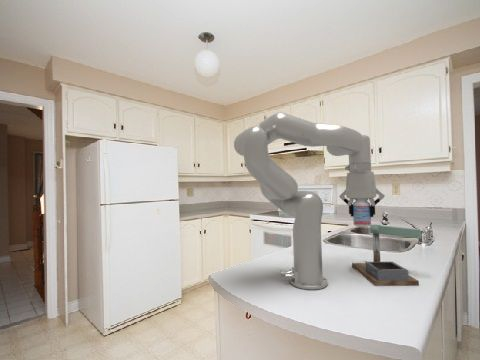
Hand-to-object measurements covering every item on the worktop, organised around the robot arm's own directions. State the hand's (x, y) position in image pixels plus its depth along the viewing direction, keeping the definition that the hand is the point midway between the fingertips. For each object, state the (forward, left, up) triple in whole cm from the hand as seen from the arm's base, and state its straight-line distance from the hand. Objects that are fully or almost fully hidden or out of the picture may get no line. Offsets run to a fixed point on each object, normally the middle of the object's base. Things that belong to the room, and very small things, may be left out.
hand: (362, 216), depth 98 cm
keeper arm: (+12, +2, -8) cm, 14 cm away
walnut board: (+6, -2, -22) cm, 22 cm away
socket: (+5, -7, -20) cm, 22 cm away
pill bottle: (0, 0, -4) cm, 4 cm away
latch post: (+8, +6, -20) cm, 22 cm away
